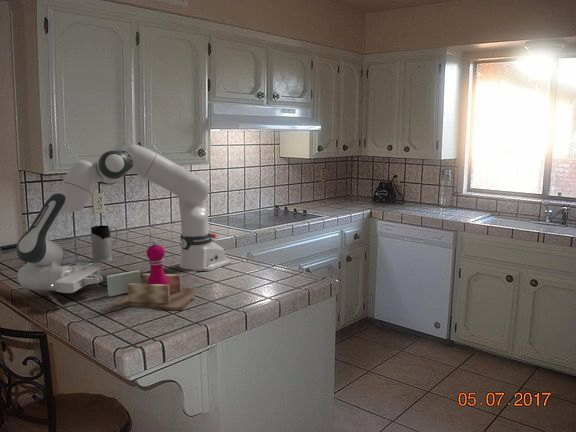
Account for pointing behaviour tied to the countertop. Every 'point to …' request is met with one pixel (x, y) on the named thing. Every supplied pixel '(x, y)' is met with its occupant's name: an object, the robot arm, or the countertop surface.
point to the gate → (122, 282)
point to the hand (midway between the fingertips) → (100, 279)
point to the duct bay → (159, 294)
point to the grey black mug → (102, 243)
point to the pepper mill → (156, 264)
